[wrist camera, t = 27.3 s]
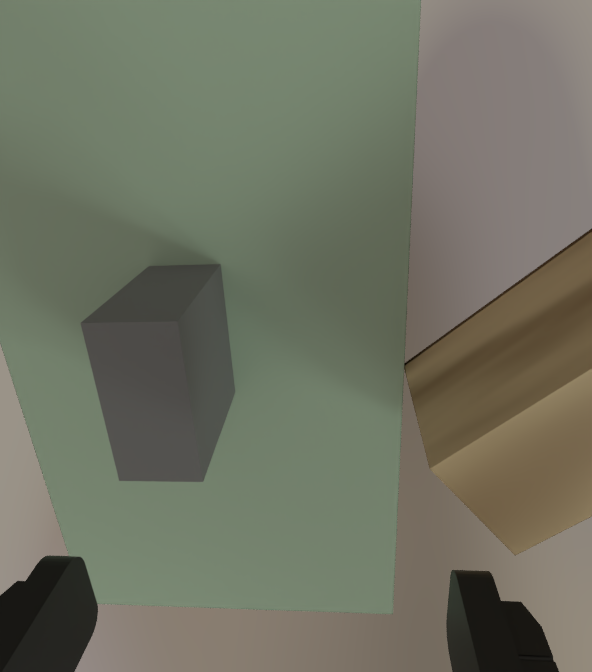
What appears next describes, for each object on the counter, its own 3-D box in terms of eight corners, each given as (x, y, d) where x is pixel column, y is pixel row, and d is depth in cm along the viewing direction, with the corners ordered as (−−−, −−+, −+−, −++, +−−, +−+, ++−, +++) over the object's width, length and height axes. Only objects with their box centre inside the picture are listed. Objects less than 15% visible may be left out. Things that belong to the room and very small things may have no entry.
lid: (390, 591, 24) (406, 736, 19) (95, 582, 26) (27, 715, 20) (416, -29, 14) (468, -122, 8) (-79, 9, 15) (-319, -50, 10)
